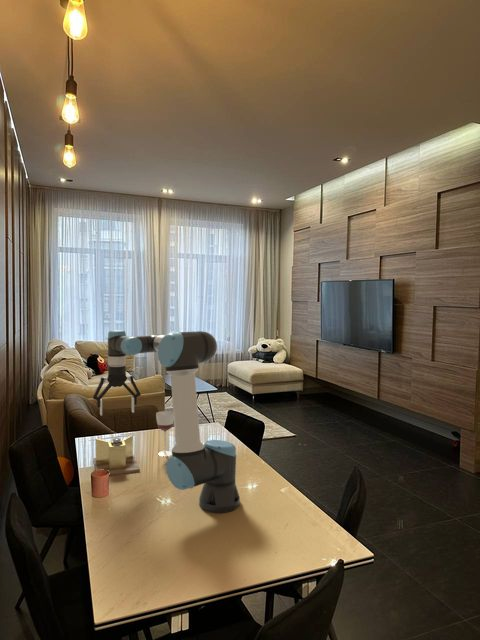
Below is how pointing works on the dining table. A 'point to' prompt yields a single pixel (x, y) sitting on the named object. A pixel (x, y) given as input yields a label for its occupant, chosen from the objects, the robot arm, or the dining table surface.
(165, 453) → the wineglass
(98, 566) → the dining table surface
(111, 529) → the dining table surface
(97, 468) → the board
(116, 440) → the pin
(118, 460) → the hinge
